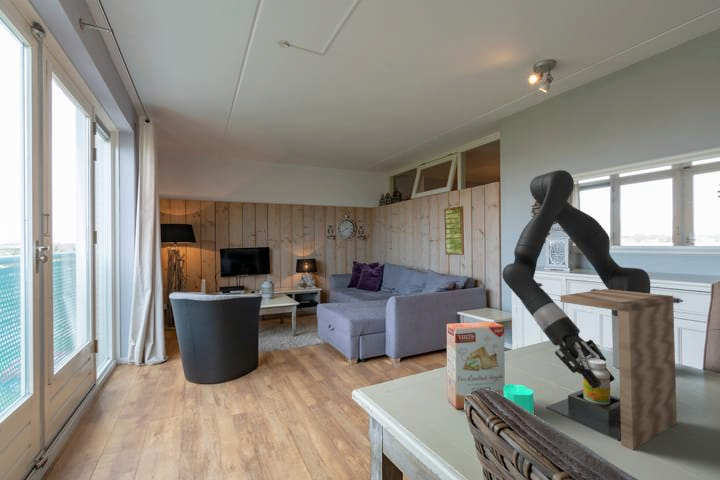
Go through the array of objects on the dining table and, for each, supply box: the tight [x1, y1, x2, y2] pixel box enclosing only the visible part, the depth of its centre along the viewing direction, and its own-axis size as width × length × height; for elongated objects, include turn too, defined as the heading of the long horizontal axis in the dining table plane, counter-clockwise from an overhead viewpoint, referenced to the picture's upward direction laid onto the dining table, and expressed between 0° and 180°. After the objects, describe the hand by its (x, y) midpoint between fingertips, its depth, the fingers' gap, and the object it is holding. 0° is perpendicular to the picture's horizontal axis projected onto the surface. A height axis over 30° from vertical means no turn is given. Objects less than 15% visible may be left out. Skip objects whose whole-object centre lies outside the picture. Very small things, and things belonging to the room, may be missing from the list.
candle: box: [504, 383, 535, 415], centre depth 72 cm, size 6×6×12 cm
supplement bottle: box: [582, 358, 611, 405], centre depth 81 cm, size 5×5×10 cm
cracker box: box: [446, 321, 506, 410], centre depth 88 cm, size 14×6×21 cm, turn 99°
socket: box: [545, 389, 621, 442], centre depth 81 cm, size 16×16×4 cm
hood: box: [559, 288, 678, 451], centre depth 78 cm, size 20×14×30 cm
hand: (604, 383), depth 80 cm, fingers closed on supplement bottle, 5 cm apart
